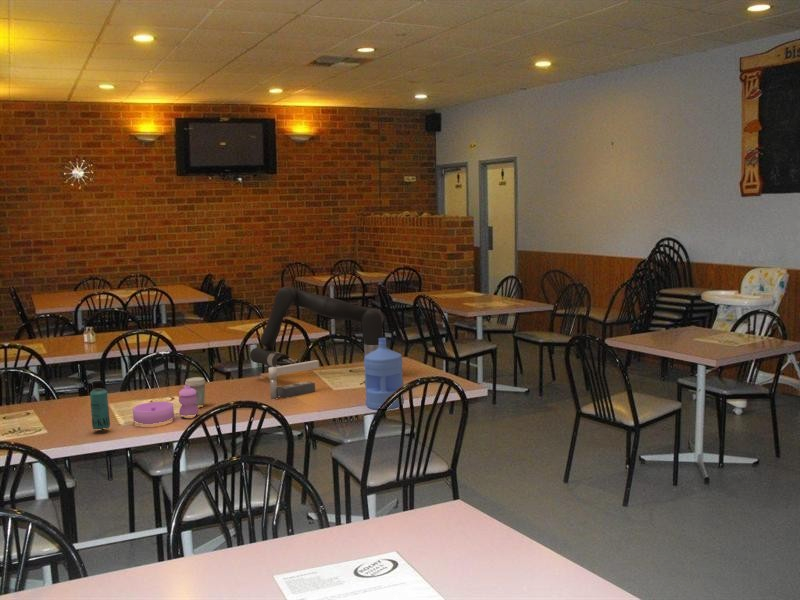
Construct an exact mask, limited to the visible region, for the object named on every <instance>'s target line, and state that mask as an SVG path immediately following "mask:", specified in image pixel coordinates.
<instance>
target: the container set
mask: <svg viewBox="0 0 800 600" xmlns="http://www.w3.org/2000/svg"><path fill="white" fill-rule="evenodd" d="M178 394H179V397H178V402H179V404H180V405H181V406H180V408H179V415H180V416H181V415H195V414H197V415H199V411H200V410H199V409H200V408H198V407H197V405H196V404H195V403H196V402H197V396H196V395H195V394H196V390H195V389H193V388H190V385H185V384H184V388H182V389H180V390H179V392H178ZM132 416H133V418H132V419H133V422H134V421H136V422H138V423H143V424H153V423H159V422H164V421H167V420H169V419H171V418H173V417H174V418H175V411H174V403H173V402H171V401H170V402H169V401H150V402H149V401H148V402H144V403H141V404H140V403H139V404H137V405H135V406H133V408H132Z"/></svg>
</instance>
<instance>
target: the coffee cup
mask: <svg viewBox="0 0 800 600" xmlns="http://www.w3.org/2000/svg"><path fill="white" fill-rule="evenodd" d="M206 383H207V382H206V380H205V378H204V377H201V376H198V377H197V376H196V377H194V376H193V377H189V378H186V379H185V382H184V386H185V385H190V388H193V389H195V390H196V394H195V395H196V396H197V402H196V403H195V404H196V405H197V406H198V405H203V404H204V405H205V394H206V392H205V391H206Z"/></svg>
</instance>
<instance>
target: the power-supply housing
mask: <svg viewBox="0 0 800 600" xmlns="http://www.w3.org/2000/svg"><path fill="white" fill-rule="evenodd" d="M277 390H278V396H280V397H279V398H281V397H283V398H282V399H284V398H285V399H287V398H286V397H289V398H294V397H298V396H302V395H306V394H312V393H315V392H316V383H315V382H313V381H309V380H304V381H300V382H295V383H291V384H284V385H281V386H280V385H279V386H277ZM293 396H294V397H293Z"/></svg>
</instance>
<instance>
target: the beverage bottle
mask: <svg viewBox="0 0 800 600" xmlns="http://www.w3.org/2000/svg"><path fill="white" fill-rule="evenodd" d="M91 386H92V388H94V389H93V390H91V391H90V393H89V397H90V398H89V399H90V409H91V410H90V412H91V413H90V414H91V426H92V429H103V428H108V427H110V426H111V420H110V408H109V399H108V391H107V390H106V389H105V388H102V387H104V386H105V384H104V380H101V379H100V380H99V379H98V380H94V381H92V384H91ZM108 429H109V428H108Z"/></svg>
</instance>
